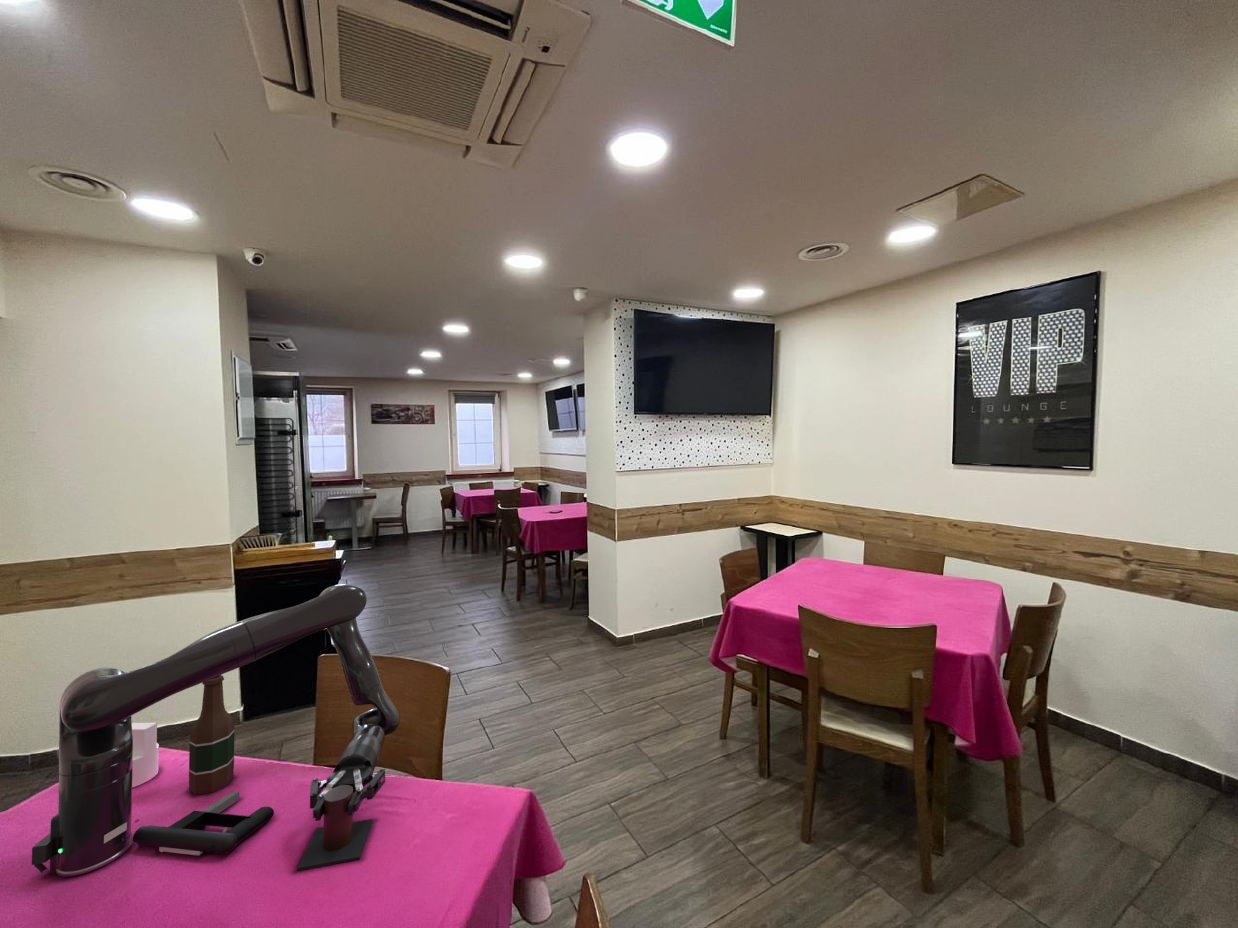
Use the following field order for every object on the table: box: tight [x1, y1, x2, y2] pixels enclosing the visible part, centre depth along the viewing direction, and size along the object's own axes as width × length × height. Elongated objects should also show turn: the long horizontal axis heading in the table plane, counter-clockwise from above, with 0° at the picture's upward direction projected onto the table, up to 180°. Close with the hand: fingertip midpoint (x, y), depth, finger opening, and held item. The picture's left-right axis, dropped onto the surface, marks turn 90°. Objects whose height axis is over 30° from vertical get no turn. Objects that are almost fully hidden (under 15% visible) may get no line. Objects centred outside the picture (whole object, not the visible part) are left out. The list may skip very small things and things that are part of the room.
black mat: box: [296, 818, 374, 871], centre depth 91 cm, size 10×10×1 cm
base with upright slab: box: [132, 722, 160, 789], centre depth 111 cm, size 9×9×12 cm
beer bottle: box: [188, 674, 235, 796], centre depth 109 cm, size 8×8×24 cm
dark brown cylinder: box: [322, 785, 354, 851], centre depth 92 cm, size 5×5×9 cm
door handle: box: [132, 790, 275, 856], centre depth 96 cm, size 3×20×16 cm
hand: (334, 812), depth 89 cm, fingers closed on dark brown cylinder, 4 cm apart
